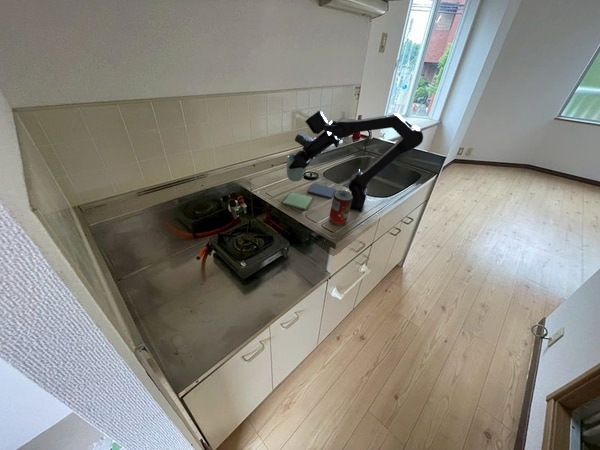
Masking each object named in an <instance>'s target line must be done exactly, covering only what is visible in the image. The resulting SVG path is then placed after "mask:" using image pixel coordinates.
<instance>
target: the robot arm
mask: <svg viewBox="0 0 600 450" xmlns="http://www.w3.org/2000/svg"><path fill="white" fill-rule="evenodd" d="M304 123H305V124H306V125H307V127H308V128H309V130H310V131H311V132H312V133H313V135H314V134H315V135H318V136H316V137H314V138H312V137H311V136H310V135H308V134H307V133H305V132H304V131H302V130H300V131H299V132H298V133H297V135H295V138H294V142H296V143H298V144H299V145H301V146H302V150H298V151H297V152H296V153H295V155H294V158H295V160H294V161H293V163H292V164H291V165H290V166H289V168H290V169H295V168H303V169H304V168H305V169H306V168H307V167H308V166H309V165H310V162H311V160H314V159H315V158H316V157H317V156H318V155H321V154H322V153H323V152H324V151H326V150H327V149H328V148H330V147H331V146H333V145H334V147H335V148H338V147H339V146H340V141H341V139H343V138H346V137H351V135H354V134H357V133H362V132H369V131H377V130H386V129H393V130H394V131H395V132H396V133H397V134H398V135H399V137H398V139H397V140H396V141H395V144H393V145H392V146H391V147H390V148H389V149H388V150H386V151H385V152H384V153H383V154H382V155H381V156H380V157H379V158H377V159H376V160H375V161H374V162H373V163H371V164H370V165H369V166H368V167H366V169H364V170H361V169H360V168H359V169H357V171H356V172H355V173H352V175H351V177H350V180H349V183H348V190H349V192H351V194H352V196H353V199H352V202H351V206H350V210H351V211H357V212H359V213H360V212H361V213H363V210H364V206H365V202H366V199H367V194H368V190H369V189H368V188H369V187H368V184H369V183H370V181H371V180H372V179H373V178H374V177H375V176H377V175H378V174H379V173H381V171H383V170H384V169H386V168H387V167H388V166H389V165H390V164H391V163H393V162H394V161H395V160H396V159H397V158H398V157H400V156H402V155H403V154H405V153H408V152H410V151H412V150H414V149H416V148H417V147H419V146H420V145H421V144H422V143H423V141H424V134H423V131H422V129H421V128H420V127H419V126H417V125H412V124H411V123H410V122H408V121H407V120H406V119H405V118H403V117H402V116H401V115H400V114H399V113H392V114H388V115H382V116H374V117H368V118H362V119H354V118H340V119H338V120H327V118H326V117H325V116H324V114H323V111H321V109H319V110H317V111H316V112H315V113H313V114H312V115H311V116H309V117H308V118H306V120H305V121H304ZM305 169H304V170H305Z"/></svg>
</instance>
